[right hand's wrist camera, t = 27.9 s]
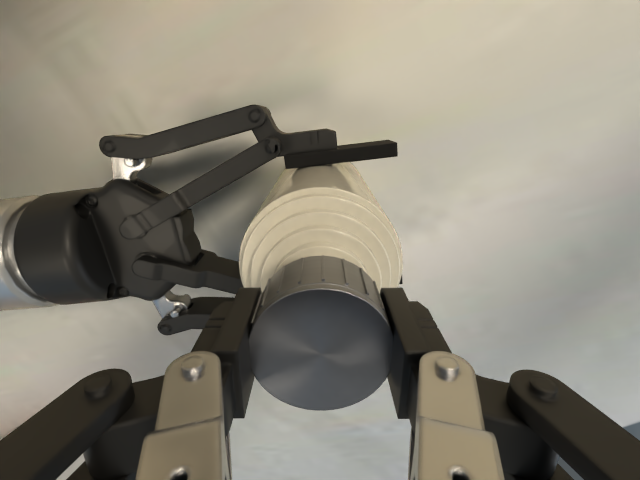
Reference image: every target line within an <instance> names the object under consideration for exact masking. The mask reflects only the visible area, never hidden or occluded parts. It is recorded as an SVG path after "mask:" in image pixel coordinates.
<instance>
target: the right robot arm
mask: <svg viewBox="0 0 640 480" xmlns="http://www.w3.org/2000/svg"><path fill="white" fill-rule="evenodd" d="M260 294H262V291H261V288H260V287H251V288H239V289H238V292H237V294H236V296H235V298H234V300H233V301H224V302H222V303H221V304H220V305H219V306H217V307H216V308H215V309H214V310H213V312H212V314H211V315H210V317H209V320H208V321H207V323H206V325H205V328H203V330H202V332H201V334H200V336H199V338H198V340H197V341H196V343H195V345H194V347H193V349H192V351H191V353H188V354H185V355H182V356H180V357H179V358H177V359H176V360H174V361H173V362H172V363H171V364H170V365H169V366H168V367H167V369H166V372H165V375H163V376H160V377H156V378H152V379H148V380H143V381H139V382H135V383H132V380H131V376H130V374H129V373H128V372H127V371H125V370H122V369H107V370H102V371H99V372H96V373H93V374H91V375H89V376H87V377H85V378H83V379H82V380H80V381H79V382H77V383H76V384H75V385H73V386H72V387H71V388H69V389H68V390H67V391H65V392H64V393H63V394H62V395H60V396H59V397H58V398H56V399H55V400H54V401H52V402H51V403H50V404H48V405H47V406H46V407H44V408H43V409H42V410H40V411H39V412H38V413H36V414H35V415H34V416H32V417H31V418H30V419H28V420H27V421H26V422H24V423H23V424H22V425H21V426H19V427H18V428H17V429H15V430H14V431H13V432H11V433H10V434H9V435H7V436H6V437H5V438H3V439H2V440H1V441H0V480H56V479H57V478H58V477H59V476H60V475H61V474H62V473H63V472H64V471H65V470H66V469H67V468H68V467H69V466H70V465H72V464H73V463H74V462H75V461H76V460H77V459H78V458H79V457H80V456H81V455H82V454H83V456H84V459H85V461H84V462H83V463H82V464H81V465H80V466H79V467H78V468H77V469H76V470H75V471H74V472H73V473H72V474H71V475H70V476H69V477H68V478H67V479H66V480H232V467H231V449H230V435H229V431H230V427H231V424H232V420H233V418H244V417H245V413H246V409H247V405H248V401H249V397H250V393H251V389H252V385H253V381H254V377H255V376H254V374H253V372H252V369H251V359H250V347H249V334H250V330H251V327H252V325H251V322H252V318H253V315H254V312H255V309H256V306H257V303H258V300H259V297H260ZM380 296H381V299H382V302H383V305H384V308H385V311H386V314H387V317H388V320H389V323H390V326H391V329H392V332H393V346H392V358H391V369H390V373H389V375H388V376H387V377H388V381H389V385H390V389H391V393H392V397H393V401H394V405H395V409H396V413H397V417H398V419H409V420H410V423H411V426H412V427H411V435H410V449H409V467H408V480H574V479H573V478H572V477H571V476H570V475H569V474H568V473H567V472H566V471H565V470H564V469H563V468H562V467H561V466H560V465H559V464H558V460H559V457H561V458H562V459H563V460H564V461H565V462H566V463H567V464H569V465H570V466H571V467H572V468H573V469H574V470H575V471H576V472H577V473H578V474H579V475H580V476H581V477H582V478H583V479H584V480H640V441H639V440H638V439H637V438H635V437H634V436H633V435H631V434H630V433H629V432H627V431H626V430H625V429H623V428H622V427H621V426H619V425H618V424H617V423H616V422H614V421H613V420H612V419H610V418H609V417H608V416H606V415H605V414H604V413H602V412H601V411H600V410H598V409H597V408H596V407H594V406H593V405H592V404H590V403H589V402H588V401H586V400H585V399H584V398H582V397H581V396H580V395H578V394H577V393H576V392H575V391H573V390H572V389H571V388H569V387H568V386H567V385H565V384H564V383H562V382H561V381H560V380H558V379H556V378H554V377H552V376H550V375H548V374H545V373H542V372H539V371H534V370H519V371H516V372H515V373H513V374H512V375H511V378H510V382H509V383H506V382H502V381H497V380H493V379H488V378H485V377H481V376H478V375H476V374H475V372H474V369H473V367H472V366H471V365H470V364H469V363H468V362H467V361H466V360H464V359H463V358H461V357H460V356H458V355H455V354H452V352H451V350H450V349H449V347H448V345H447V343H446V341H445V340H444V338H443V336H442V334H441V332H440V330H439V329H438V328H437V325H436V323H435V321H433V318H432V316H431V314H430V312H429V310H428V309H427V308H425V307H424V306H423V305H422V304H420V303H419V302H418V301H408V299H407V297H406V294H405V292H404V290H403V288H381V290H380Z"/></svg>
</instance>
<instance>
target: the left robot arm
mask: <svg viewBox="0 0 640 480" xmlns="http://www.w3.org/2000/svg"><path fill="white" fill-rule="evenodd" d="M249 130H252V131H253V133H254V135H255V136H256V138H257V140H258V143H257V144H255V145H253V146H251V147H250V148H248V149H246V150H245V151H243V152H241V153H240V154H238V155H236V156H235V157H233V158H231V159H229V160H228V161H226V162H224V163H223V164H221V165H219V166H218V167H216V168H214V169H213V170H211V171H209V172H207V173H206V174H204V175H202V176H201V177H199V178H197V179H196V180H194V181H192V182H191V183H189V184H187V185H185V186H184V187H182V188H180V189H179V190H177V191H175V192H173V193H172V194H170V195H169V194H167V193H165V192H163V191H161V190H159V189H157V188H156V187H154V186H152V185H150V184H148V183H146V182H144V181H142V180H140V179H138V178H137V173H138V172H139V170H142V169H145V168H148V167H150V165H151V163H152V157H156V156H160V155H164V154H168V153H172V152H176V151H179V150H183V149H186V148H190V147H193V146H197V145H200V144H204V143H207V142H211V141H214V140H218V139H221V138H224V137H228V136H231V135H235V134H238V133H242V132H245V131H249ZM99 147H100V150H101V151H102V152H103V154H105V155H106V156H108V157H111V162H112V171H113V179H114V180H111V181H110V182H108V183H107V184H106V185H105V186H103V187H102V188H93V189H85V190H76V191H67V192H59V193H50V194H45V195H43V196H35V195H33V196H25V197H17V198H9V199H1V200H0V311H3V310H15V309H27V308H40V307H51V306H55V305H58V304H61V305H67V304H77V303H86V302H96V301H106V300H113V299H118V298H123V297H127V296H133V297H138V298H141V299H144V300H149V301H153V303H154V305H155V307H156V308H157V310H158V312H159V314H160V315H161V317H162V320H161V321H160V323H159V324H158V330H159V331H160V333H162V334H163V335H172V334H175V333H179V332H182V331H186V330H189V329H203V328H205V325H206V323H207V321H208V320H209V317H210V315H211V314H212V312H213V310H214V309H215V308H216V307H217V306H219V305H220V304H221V303H222V302H224V301H233V300H234V298H230V297H198V298H193V299H191V297H190V296H189V295H188V294H185V295H179V296H178V295H175V294H173V293H172V292H171V291H170V289H171V288H172V287H173V286H175V285H176V284H179V285H183V286H187V287H191V288H200V287H209V288H213V289H217V290H221V291H225V292H229V293H233V294H237V292H238V289H239V288H244V286H243V284H242V281H241V276H240V271H239V262H237V261H233V260H229V259H225V258H221V257H218V256H217V255H216V254H215V253H213V252H210V251H206V250H202V249H201V246H200V242H199V240H198V238H197V236H196V234H195V232H194V218H193V214H192V210H191V209H188V208H189V207H191V206H192V205H194V204H196V203H197V202H199V201H201V200H203V199H204V198H206V197H208V196H210V195H211V194H213V193H215V192H217V191H218V190H220V189H222V188H224V187H225V186H227V185H229V184H230V183H232V182H234V181H236V180H237V179H239V178H241V177H243V176H244V175H246V174H248V173H250V172H251V171H253V170H255V169H256V168H258V167H260V166H262V165H263V164H265V163H267V162H269V161H270V160H272V159H274V158H276V157H279V156H284V160H285V167H286V169H293V168H302V167H310V166H319V165H327V164H336V163H344V162H353V161H361V160H370V159H379V158H387V157H396V156H397V143H396V142H393V141H390V140H382V141H374V142H366V143H357V144H349V145H341V146H337V140H336V132H335V131H333V130H330V129H320V130H311V131H303V132H295V133H284V132H282V131H280V130H279V129H278V128H277V126H276V124H275V122H274V121H273V119H272V117H271V113H270V111H269V110H268V109H267V108H266V107H264V106H260V105H250V106H246V107H243V108H239V109H236V110H233V111H229V112H226V113H222V114H219V115H216V116H212V117H209V118H206V119H202V120H199V121H195V122H192V123H189V124H185V125H182V126H178V127H175V128H172V129H168V130H165V131H162V132H158V133H155V134H151V135H138V134H123V135H112V136H104V137H103V138H101V140H100V142H99ZM399 284H402V275H401V280H400V283H399Z"/></svg>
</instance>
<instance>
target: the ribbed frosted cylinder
mask: <svg viewBox="0 0 640 480" xmlns="http://www.w3.org/2000/svg"><path fill="white" fill-rule="evenodd" d="M322 255H324V256H332V257H337V258H341V259H342V258H343V259H345V260H347V261H349V262H351V263H353V264H355V265H357V266H358V267H360V268H363V270H364V271H365V272H366V273H367V274H368V275H369V276H370V277H371V279H372V280H373V281H375V282H376V284H377V288H378V291H379V293H380V290H381V288H398V286H399V283H400V280H401V275H402V268H403V255H402V249H401V244H400V241H399V238H398V235H397V233H396V231H395V229H394V227H393V225H392V224H391V222H390V221H389V219H388V217H387V216H386V214H385V213H384V211H383V210H382V208H381V206H380V205H379V203H378V202H377V200H376V199H375V197H374V196H373V194H372V192H371V191H370V189H369V188H368V186H367V185H366V183H365V181H364V180H363V178H362V177H361V175H360V174H359V172H358V171H357V169H356V168H355V167H354V166H353V165H352V164H351V163H350V162H344V163H336V164H327V165H319V166H310V167H302V168H293V169H286V168H285V170H284V171H283V172H282V174H281V176H280V177H279V179H278V180H277V182H276V184H275V185H274V187H273V188H272V190H271V191H270V193H269V195H268V196H267V198H266V199H265V201H264V203H263V204H262V206H261V207H260V209H259V211H258V212H257V214H256V215H255V217H254V219H253V220H252V222H251V223H250V225H249V227H248V229H247V231H246V233H245V234H244V237H243V240H242V243H241V247H240V253H239V271H240V276H241V281H242V284H243V286H244V288H251V287H260V288H261V291H262V293H263V291H264V288H265V286H266V285H267V282H268V279H269V278H270V279H271V278H272V276H273V275H274V274H275V273H276V272H277V271H279V270H280V269H281V268H282V266H285V265H287V264H289V263H291V262H293V261H295V260H298V259H301V258H305V257H309V256H322Z"/></svg>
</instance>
